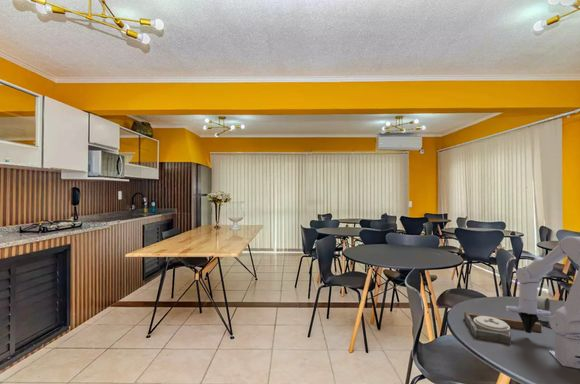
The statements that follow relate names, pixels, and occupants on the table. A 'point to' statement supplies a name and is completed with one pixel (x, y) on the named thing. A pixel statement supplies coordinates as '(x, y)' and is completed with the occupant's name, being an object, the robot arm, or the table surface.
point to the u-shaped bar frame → (495, 335)
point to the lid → (491, 324)
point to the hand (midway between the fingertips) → (527, 331)
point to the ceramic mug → (543, 303)
